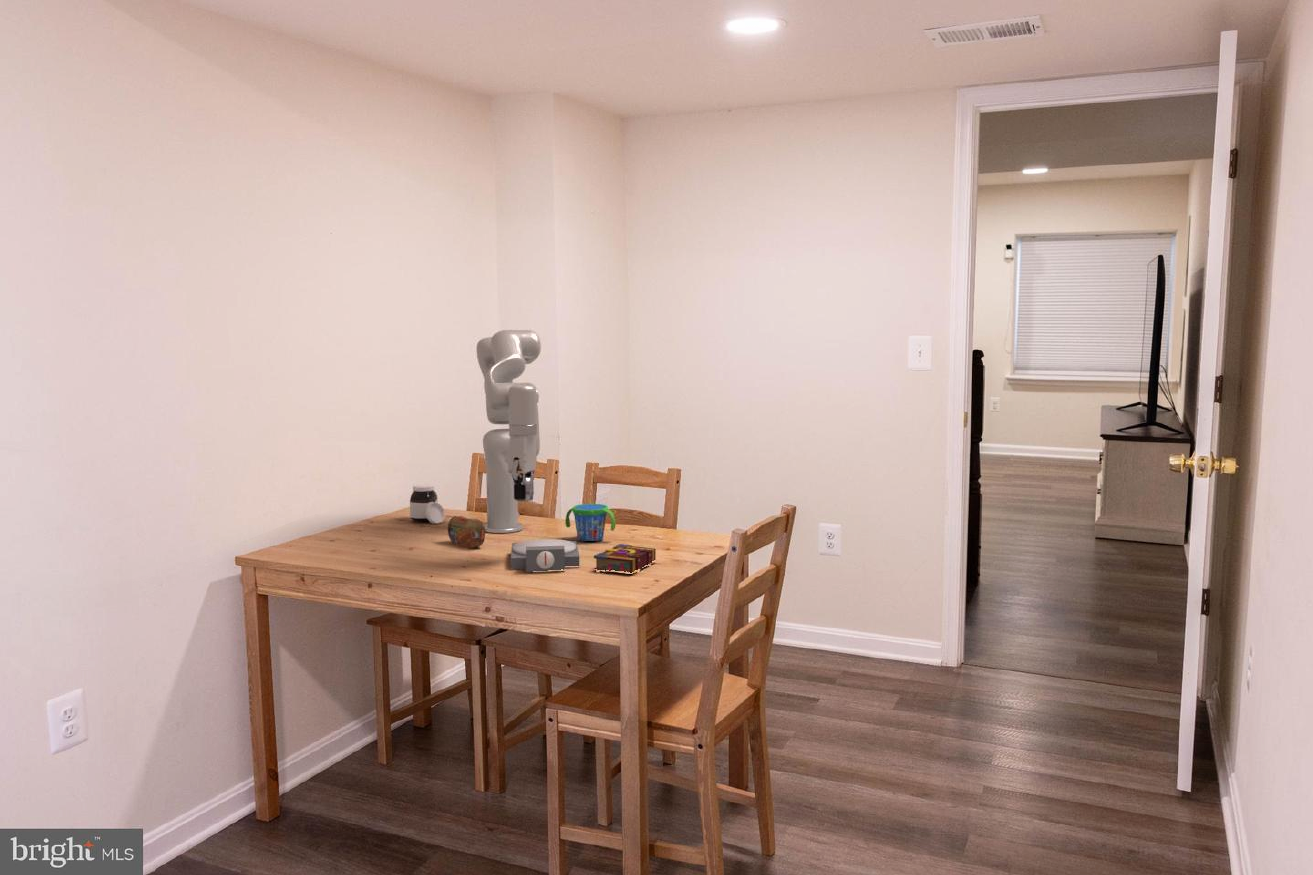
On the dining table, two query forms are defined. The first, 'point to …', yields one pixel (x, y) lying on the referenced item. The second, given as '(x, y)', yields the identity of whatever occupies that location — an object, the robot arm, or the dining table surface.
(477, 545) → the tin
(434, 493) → the spread jar
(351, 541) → the dining table surface
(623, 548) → the decorative book
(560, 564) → the scale
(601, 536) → the snack cup
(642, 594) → the dining table surface
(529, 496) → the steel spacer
